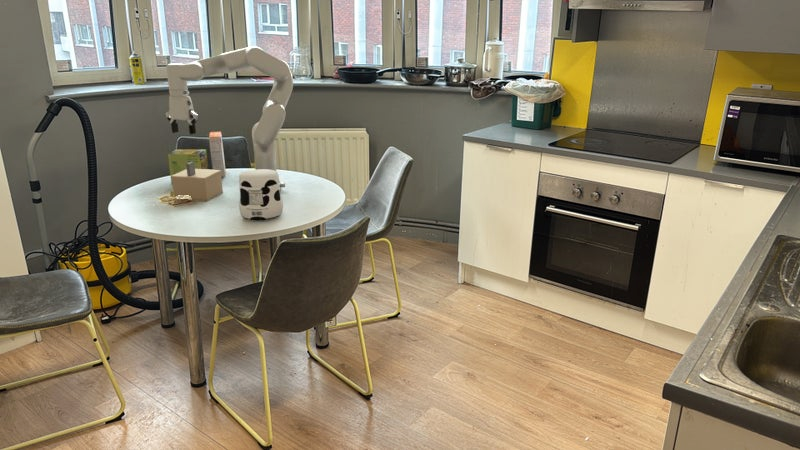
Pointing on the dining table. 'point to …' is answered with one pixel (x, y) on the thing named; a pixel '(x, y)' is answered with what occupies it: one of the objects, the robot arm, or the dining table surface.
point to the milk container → (260, 195)
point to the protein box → (186, 160)
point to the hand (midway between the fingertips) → (184, 133)
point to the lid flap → (195, 172)
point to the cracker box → (217, 152)
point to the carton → (198, 187)
